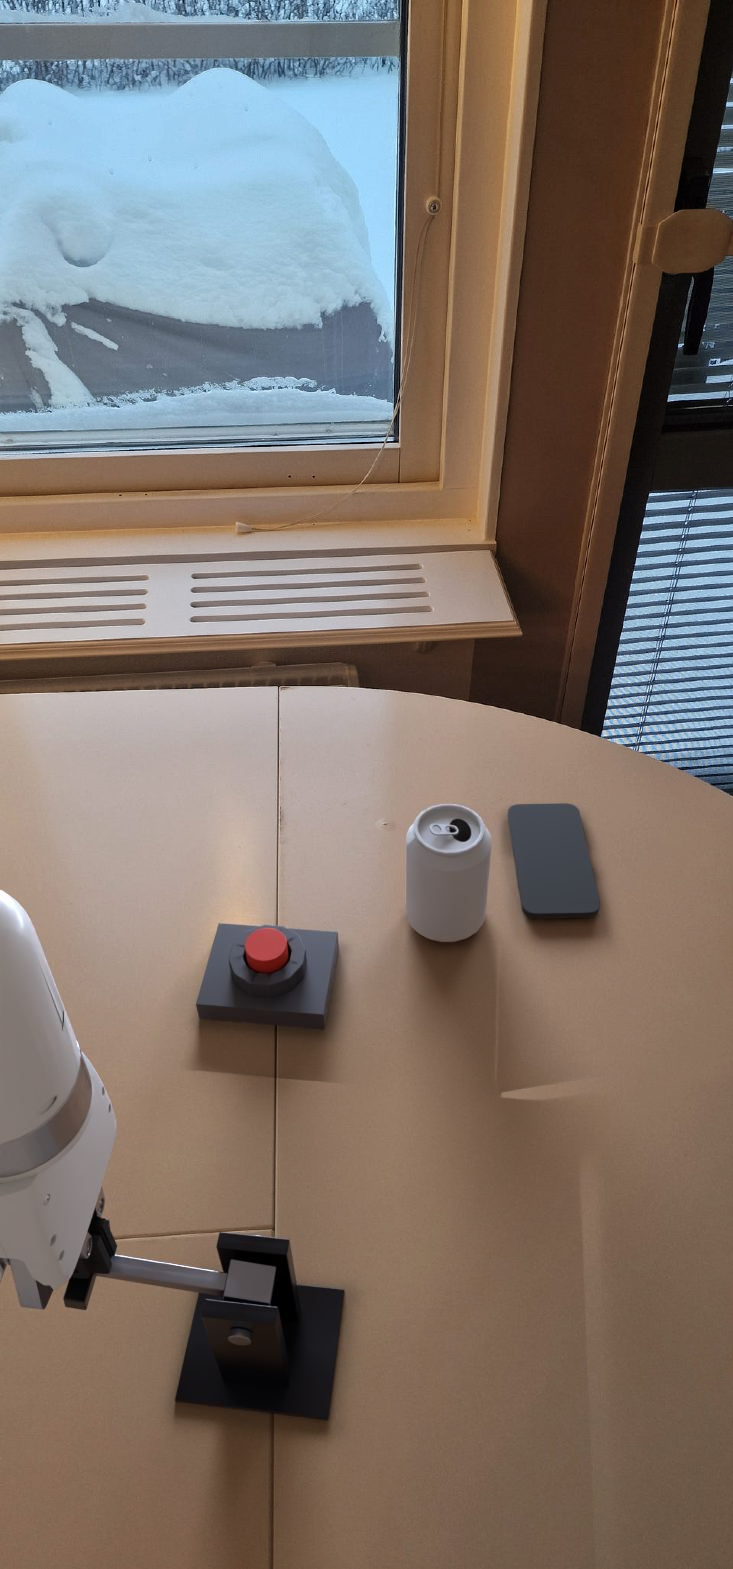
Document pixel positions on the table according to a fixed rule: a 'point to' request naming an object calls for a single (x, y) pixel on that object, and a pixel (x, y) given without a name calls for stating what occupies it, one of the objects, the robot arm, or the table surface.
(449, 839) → the can
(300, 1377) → the bracket
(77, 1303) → the lever
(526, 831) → the phone
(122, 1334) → the table surface
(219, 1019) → the button block
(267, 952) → the button
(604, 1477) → the table surface
